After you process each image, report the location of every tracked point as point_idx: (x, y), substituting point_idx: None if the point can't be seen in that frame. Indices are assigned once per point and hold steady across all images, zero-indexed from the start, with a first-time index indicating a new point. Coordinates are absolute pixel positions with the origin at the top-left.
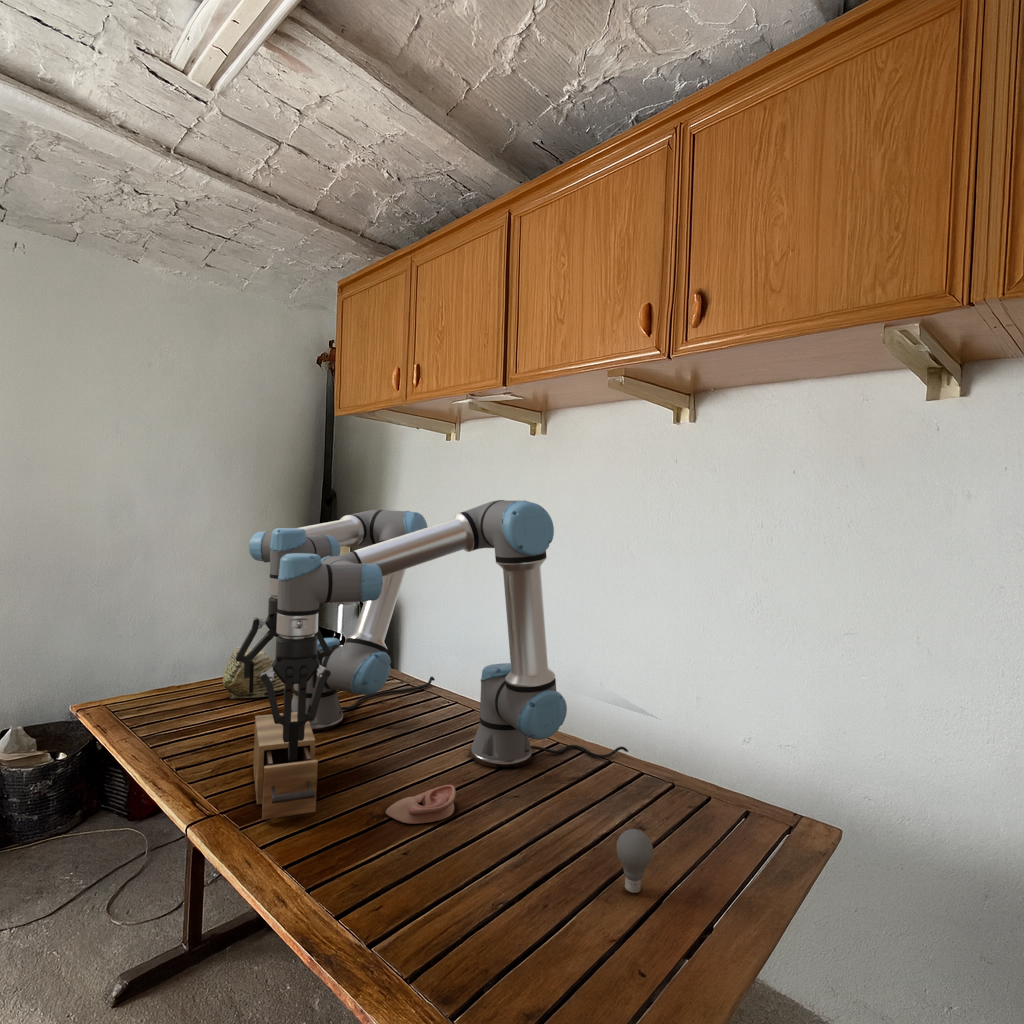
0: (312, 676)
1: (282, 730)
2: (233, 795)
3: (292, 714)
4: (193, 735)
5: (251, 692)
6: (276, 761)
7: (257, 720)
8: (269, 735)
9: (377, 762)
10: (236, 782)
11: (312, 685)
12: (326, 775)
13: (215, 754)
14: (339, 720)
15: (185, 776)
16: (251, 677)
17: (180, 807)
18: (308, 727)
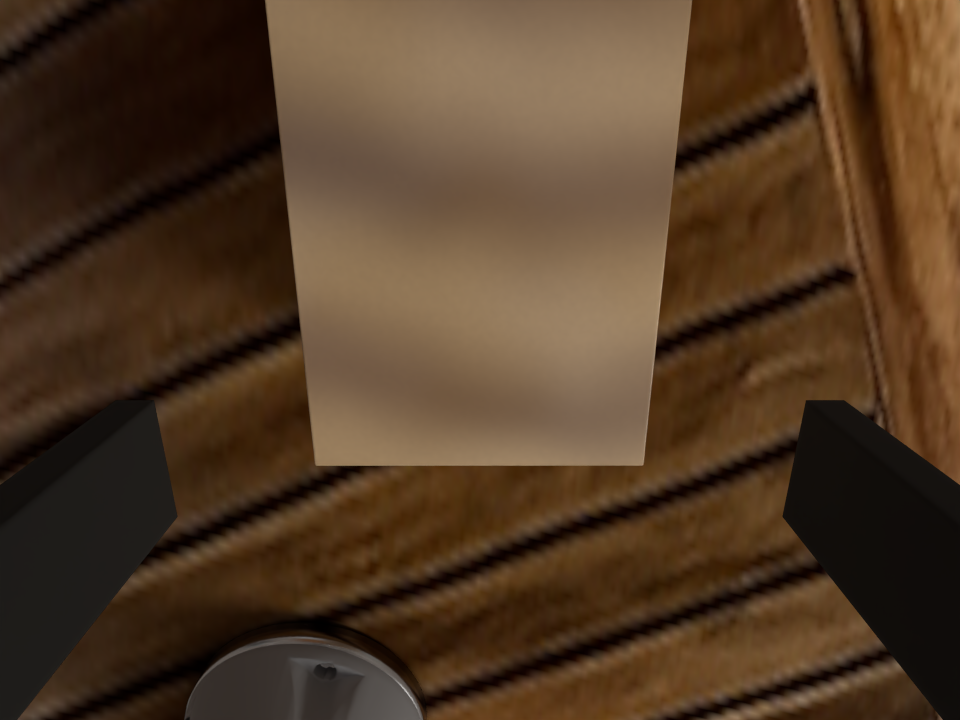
0: (109, 551)
1: (495, 104)
2: (698, 77)
3: (403, 426)
4: (764, 705)
5: (825, 402)
6: None
7: (642, 375)
8: (602, 14)
9: (32, 234)
10: (669, 217)
11: (158, 464)
12: (276, 161)
13: (713, 521)
14: (202, 676)
15: (853, 346)
16: (957, 499)
17: (927, 24)
18: (295, 111)
